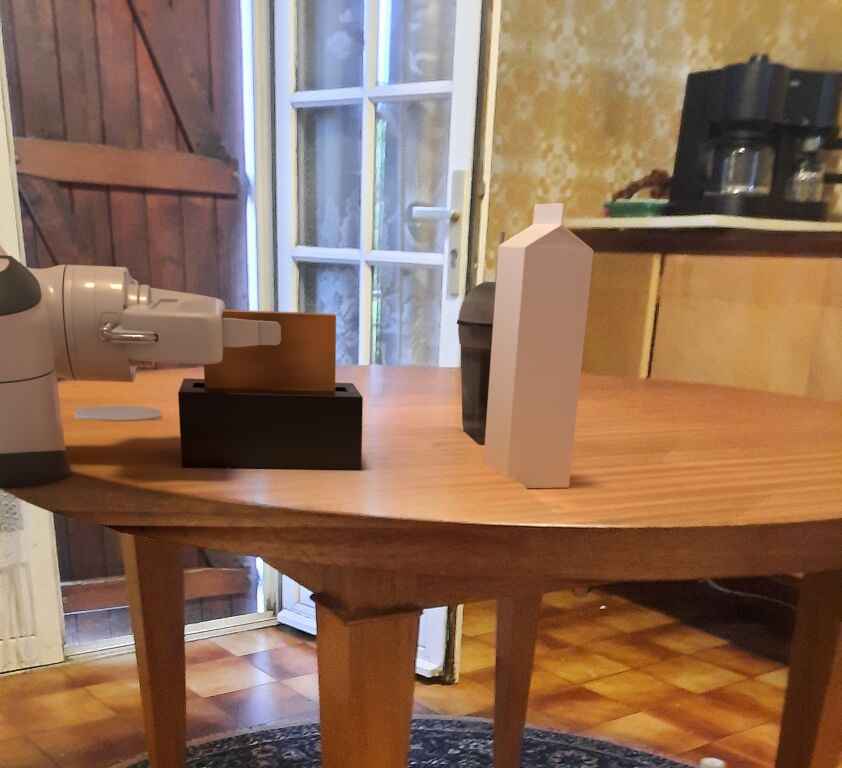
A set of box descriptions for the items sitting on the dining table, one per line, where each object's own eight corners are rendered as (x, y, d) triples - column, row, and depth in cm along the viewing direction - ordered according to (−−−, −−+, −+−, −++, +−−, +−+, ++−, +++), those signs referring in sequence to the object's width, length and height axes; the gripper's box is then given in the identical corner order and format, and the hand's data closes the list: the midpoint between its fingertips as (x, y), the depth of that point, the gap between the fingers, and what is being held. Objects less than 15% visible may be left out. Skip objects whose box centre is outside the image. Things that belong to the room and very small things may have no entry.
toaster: (182, 479, 89) (177, 391, 86) (187, 458, 97) (183, 378, 94) (361, 481, 92) (362, 396, 88) (351, 461, 100) (352, 383, 96)
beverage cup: (440, 442, 111) (451, 229, 103) (463, 432, 118) (476, 230, 109) (506, 449, 109) (523, 232, 100) (527, 439, 115) (544, 234, 107)
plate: (78, 431, 107) (77, 419, 107) (71, 417, 115) (70, 406, 114) (169, 430, 110) (168, 418, 110) (156, 416, 118) (155, 405, 117)
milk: (505, 489, 92) (527, 201, 82) (481, 475, 97) (499, 202, 87) (570, 488, 93) (599, 205, 84) (543, 473, 98) (567, 205, 89)
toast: (207, 459, 92) (201, 309, 87) (208, 455, 94) (202, 308, 89) (334, 461, 94) (336, 314, 89) (333, 458, 95) (334, 313, 90)
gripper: (90, 289, 77) (283, 297, 79) (119, 277, 95) (276, 284, 97) (98, 381, 80) (284, 386, 82) (124, 353, 98) (277, 357, 100)
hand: (280, 330), depth 90 cm, fingers open, 3 cm apart
